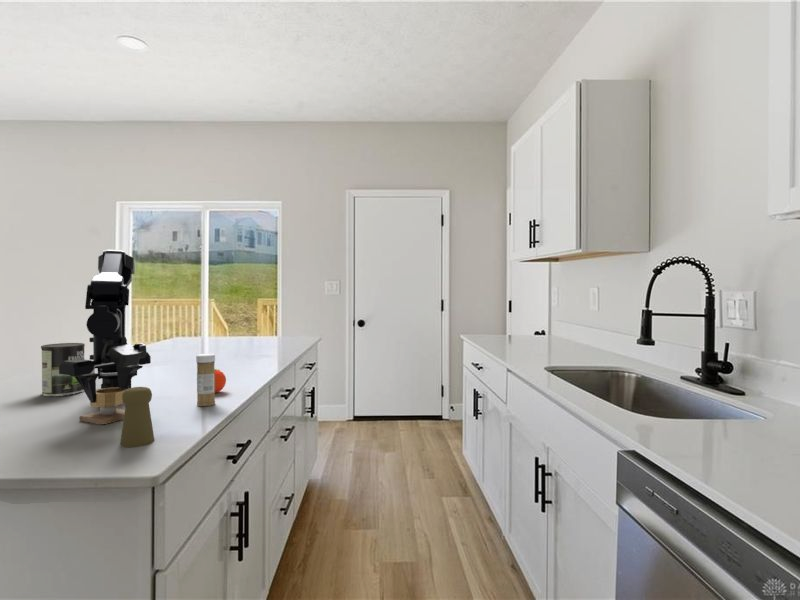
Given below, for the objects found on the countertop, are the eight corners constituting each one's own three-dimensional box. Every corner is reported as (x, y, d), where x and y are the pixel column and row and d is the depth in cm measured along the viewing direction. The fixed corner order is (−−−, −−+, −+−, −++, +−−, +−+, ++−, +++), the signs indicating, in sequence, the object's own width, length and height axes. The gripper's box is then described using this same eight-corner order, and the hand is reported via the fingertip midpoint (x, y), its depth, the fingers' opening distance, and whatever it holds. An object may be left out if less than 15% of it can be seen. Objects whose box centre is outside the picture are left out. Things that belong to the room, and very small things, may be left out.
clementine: (200, 390, 139) (200, 367, 139) (224, 388, 142) (224, 365, 142) (201, 396, 132) (201, 371, 131) (227, 394, 134) (227, 369, 134)
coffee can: (93, 389, 140) (92, 342, 139) (68, 397, 129) (67, 347, 129) (59, 388, 140) (59, 342, 139) (32, 396, 129) (31, 346, 129)
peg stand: (112, 412, 114) (112, 391, 114) (135, 416, 111) (135, 394, 111) (79, 421, 106) (79, 398, 106) (103, 425, 103) (103, 402, 103)
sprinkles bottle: (215, 402, 125) (215, 352, 125) (214, 406, 121) (214, 355, 120) (197, 403, 123) (196, 353, 123) (195, 407, 119) (195, 355, 119)
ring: (112, 398, 113) (112, 386, 113) (132, 401, 111) (132, 388, 110) (83, 405, 107) (83, 392, 107) (104, 408, 104) (104, 395, 104)
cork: (130, 449, 88) (129, 392, 88) (113, 443, 91) (113, 388, 91) (160, 440, 93) (160, 386, 93) (144, 435, 97) (143, 383, 96)
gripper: (91, 338, 96) (92, 412, 97) (166, 331, 114) (166, 393, 114) (57, 336, 101) (57, 407, 101) (134, 329, 118) (135, 389, 118)
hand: (108, 399), depth 109 cm, fingers closed on ring, 7 cm apart
